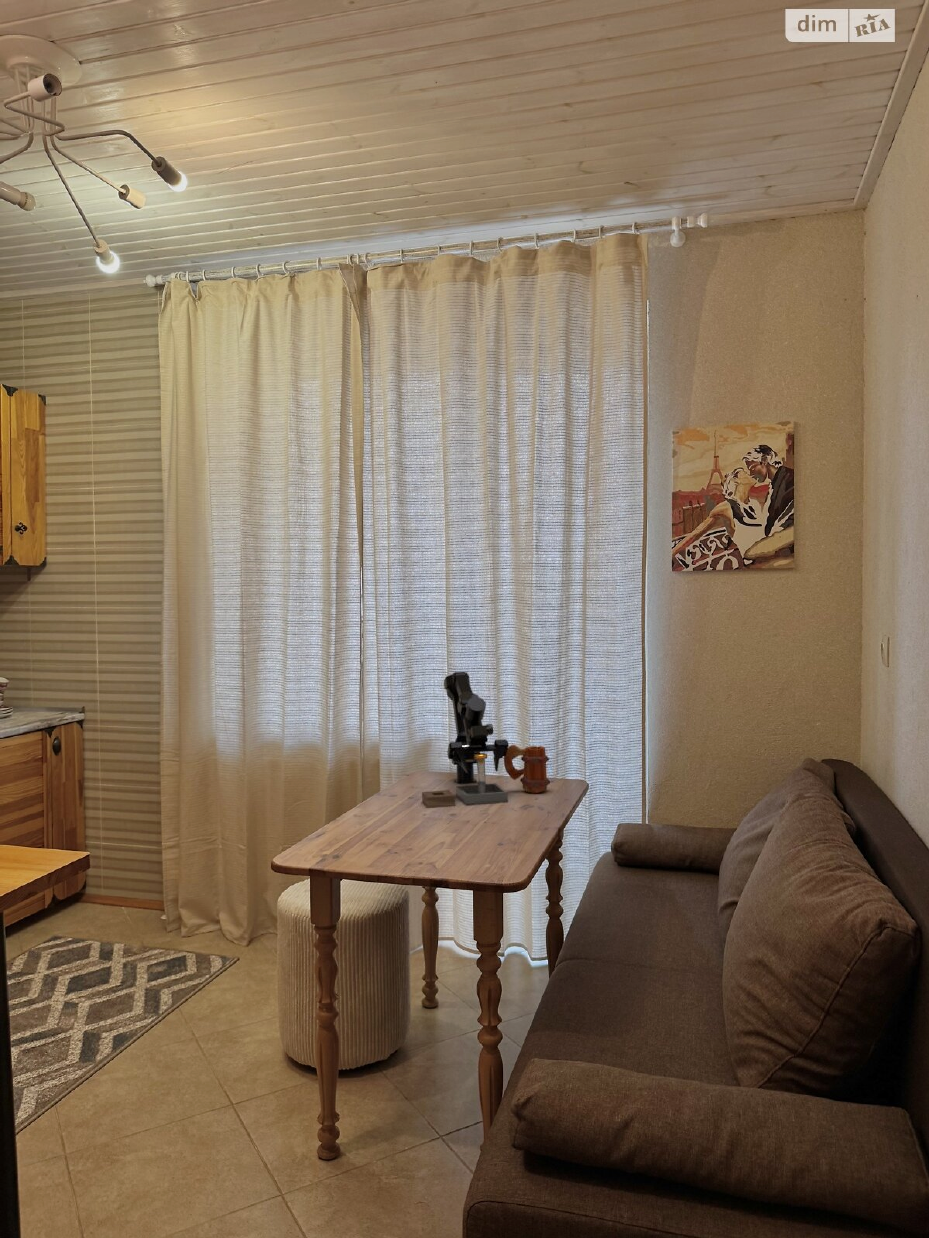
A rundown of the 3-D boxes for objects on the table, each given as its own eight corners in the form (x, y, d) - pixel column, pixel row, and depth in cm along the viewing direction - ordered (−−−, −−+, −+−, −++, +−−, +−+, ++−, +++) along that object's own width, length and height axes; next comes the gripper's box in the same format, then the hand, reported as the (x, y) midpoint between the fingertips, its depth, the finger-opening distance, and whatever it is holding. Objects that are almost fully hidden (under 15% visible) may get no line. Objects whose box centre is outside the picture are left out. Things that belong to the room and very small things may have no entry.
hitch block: (422, 801, 280) (422, 791, 280) (448, 799, 282) (448, 789, 282) (427, 807, 272) (427, 797, 272) (455, 805, 274) (454, 795, 273)
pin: (473, 796, 281) (471, 754, 281) (483, 794, 284) (481, 752, 283) (481, 798, 278) (479, 755, 278) (491, 796, 281) (489, 754, 280)
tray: (455, 795, 287) (455, 786, 287) (495, 792, 290) (495, 783, 290) (466, 805, 274) (466, 795, 273) (507, 802, 277) (507, 792, 277)
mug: (550, 788, 294) (549, 742, 294) (550, 794, 286) (549, 746, 285) (505, 788, 295) (504, 742, 295) (503, 794, 287) (502, 747, 287)
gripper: (448, 716, 283) (455, 758, 272) (506, 713, 286) (515, 754, 276) (444, 737, 291) (451, 779, 280) (501, 734, 294) (510, 775, 284)
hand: (482, 771), depth 280 cm, fingers open, 9 cm apart
